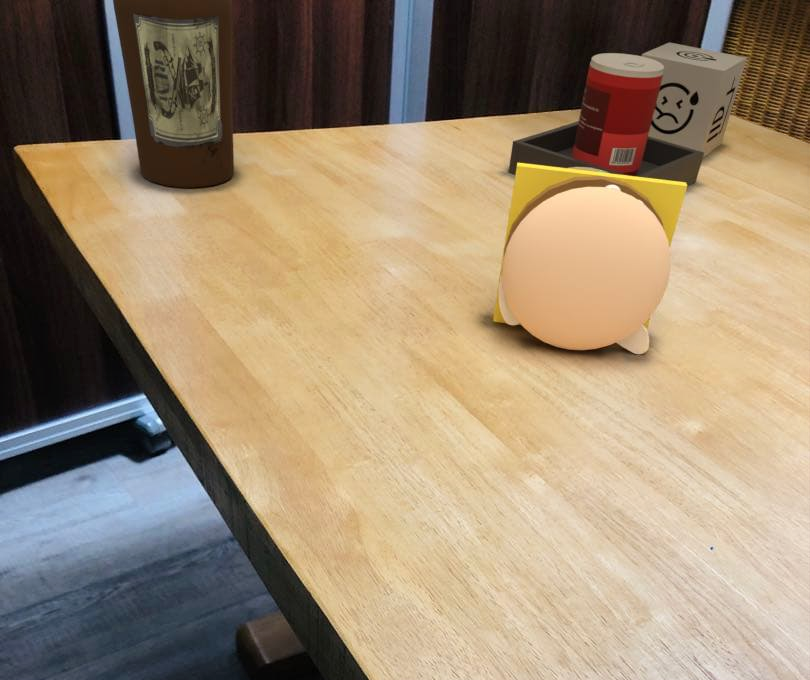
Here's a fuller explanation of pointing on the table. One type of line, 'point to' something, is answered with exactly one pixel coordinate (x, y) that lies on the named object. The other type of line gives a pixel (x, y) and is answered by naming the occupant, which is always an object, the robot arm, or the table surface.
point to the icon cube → (694, 95)
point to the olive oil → (180, 88)
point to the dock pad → (558, 150)
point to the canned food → (617, 111)
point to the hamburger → (586, 255)
